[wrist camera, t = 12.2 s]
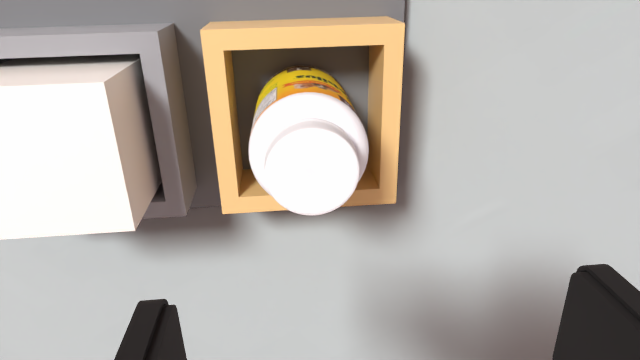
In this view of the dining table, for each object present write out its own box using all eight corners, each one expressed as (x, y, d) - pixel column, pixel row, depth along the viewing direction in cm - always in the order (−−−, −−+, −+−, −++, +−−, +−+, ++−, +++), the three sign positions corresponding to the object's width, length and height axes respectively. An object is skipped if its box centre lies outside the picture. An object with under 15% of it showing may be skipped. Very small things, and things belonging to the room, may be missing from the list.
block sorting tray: (401, -14, 27) (456, -7, 19) (391, 189, 32) (432, 262, 24) (-34, -2, 25) (-181, 11, 17) (32, 210, 31) (-56, 297, 22)
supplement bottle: (365, 99, 29) (407, 160, 19) (311, 167, 30) (325, 255, 21) (291, 42, 27) (298, 80, 17) (237, 118, 28) (217, 189, 19)
